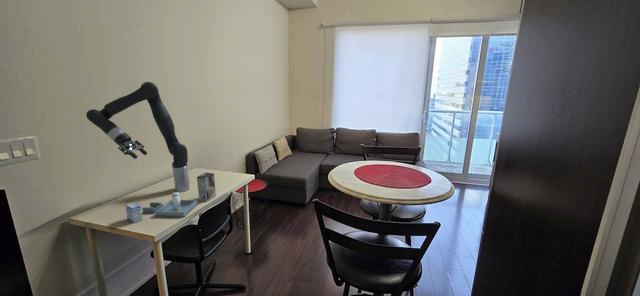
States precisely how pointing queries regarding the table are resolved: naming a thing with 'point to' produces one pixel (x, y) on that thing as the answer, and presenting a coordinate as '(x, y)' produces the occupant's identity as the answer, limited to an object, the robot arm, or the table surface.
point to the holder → (152, 207)
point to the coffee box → (206, 186)
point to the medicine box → (134, 212)
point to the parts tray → (169, 212)
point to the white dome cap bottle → (176, 201)
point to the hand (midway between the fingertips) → (141, 156)
